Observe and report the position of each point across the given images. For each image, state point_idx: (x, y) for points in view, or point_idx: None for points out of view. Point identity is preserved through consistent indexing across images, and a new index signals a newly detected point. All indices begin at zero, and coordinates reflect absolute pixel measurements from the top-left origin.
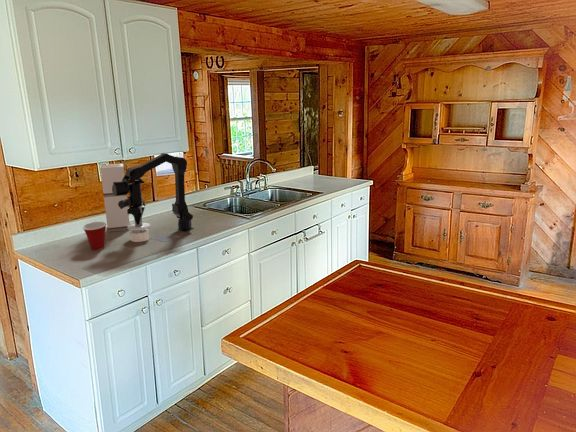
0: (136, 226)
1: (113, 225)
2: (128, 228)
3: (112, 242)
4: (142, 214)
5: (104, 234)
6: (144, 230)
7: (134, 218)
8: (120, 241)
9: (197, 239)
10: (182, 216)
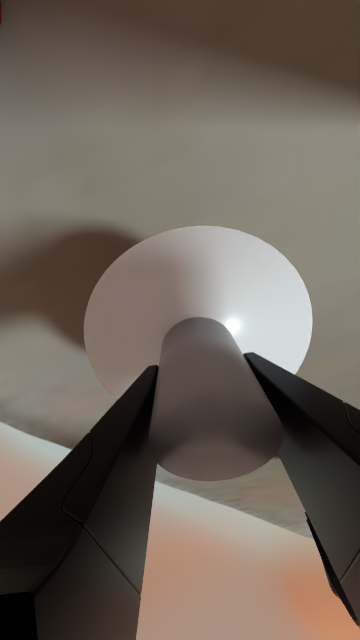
0: (162, 340)
1: None
2: (111, 265)
3: (130, 91)
4: (305, 509)
5: None
6: None
7: (176, 393)
8: (158, 167)
9: (177, 484)
10: (321, 548)
